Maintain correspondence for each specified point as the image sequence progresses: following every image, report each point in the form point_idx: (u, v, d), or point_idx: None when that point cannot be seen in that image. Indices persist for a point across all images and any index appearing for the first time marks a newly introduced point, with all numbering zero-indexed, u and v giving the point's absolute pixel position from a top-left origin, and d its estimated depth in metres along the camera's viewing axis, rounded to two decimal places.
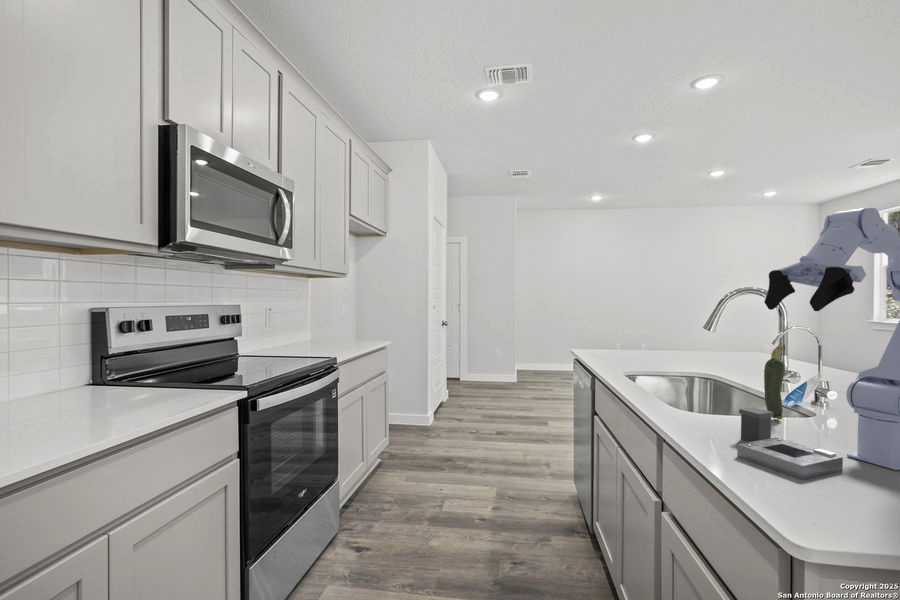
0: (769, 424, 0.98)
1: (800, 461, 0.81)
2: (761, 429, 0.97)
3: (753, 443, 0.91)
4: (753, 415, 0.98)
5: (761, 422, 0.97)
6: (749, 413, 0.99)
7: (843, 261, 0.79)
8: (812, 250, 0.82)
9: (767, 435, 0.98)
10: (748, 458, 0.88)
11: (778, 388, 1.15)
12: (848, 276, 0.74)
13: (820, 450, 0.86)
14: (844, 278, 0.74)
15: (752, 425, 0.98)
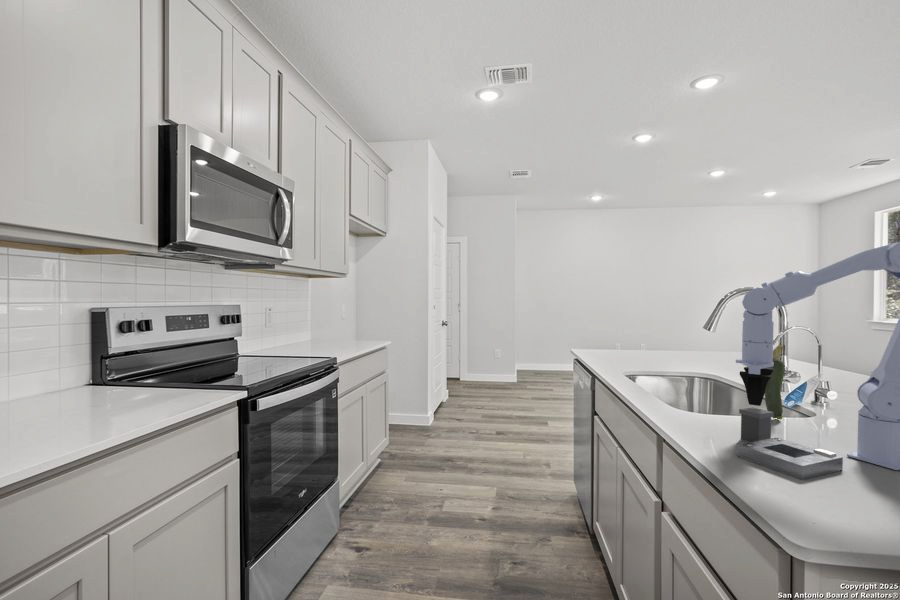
0: (769, 424, 0.98)
1: (800, 461, 0.81)
2: (761, 429, 0.97)
3: (753, 443, 0.91)
4: (753, 415, 0.98)
5: (761, 422, 0.97)
6: (749, 413, 0.99)
7: (758, 348, 0.97)
8: None
9: (767, 435, 0.98)
10: (748, 458, 0.88)
11: (778, 388, 1.15)
12: (751, 374, 0.95)
13: (820, 450, 0.86)
14: (750, 376, 0.95)
15: (752, 425, 0.98)
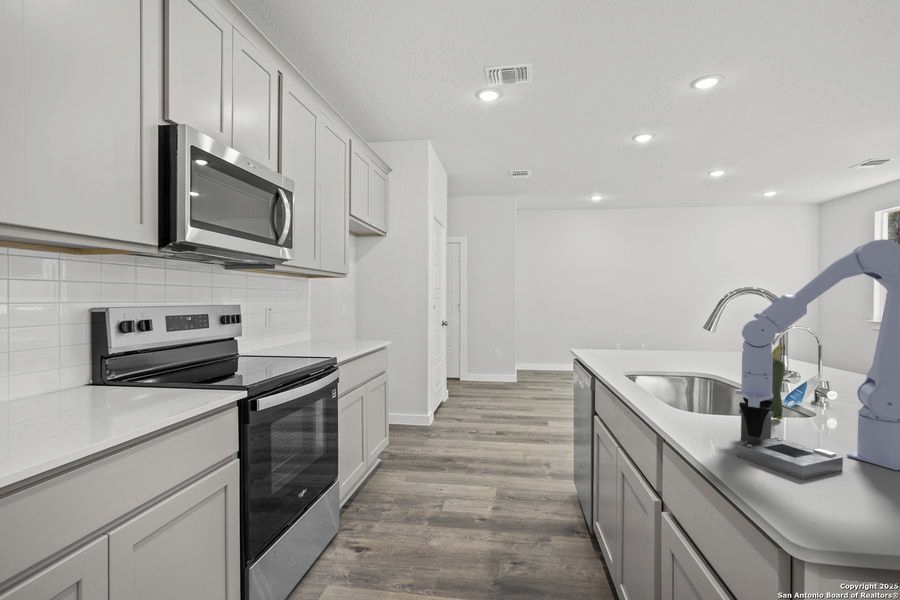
0: (769, 424, 0.98)
1: (800, 461, 0.81)
2: None
3: (753, 443, 0.91)
4: None
5: None
6: None
7: (758, 380, 0.97)
8: None
9: (767, 435, 0.98)
10: (748, 458, 0.88)
11: (778, 388, 1.15)
12: (750, 406, 0.95)
13: (820, 450, 0.86)
14: (750, 408, 0.96)
15: None
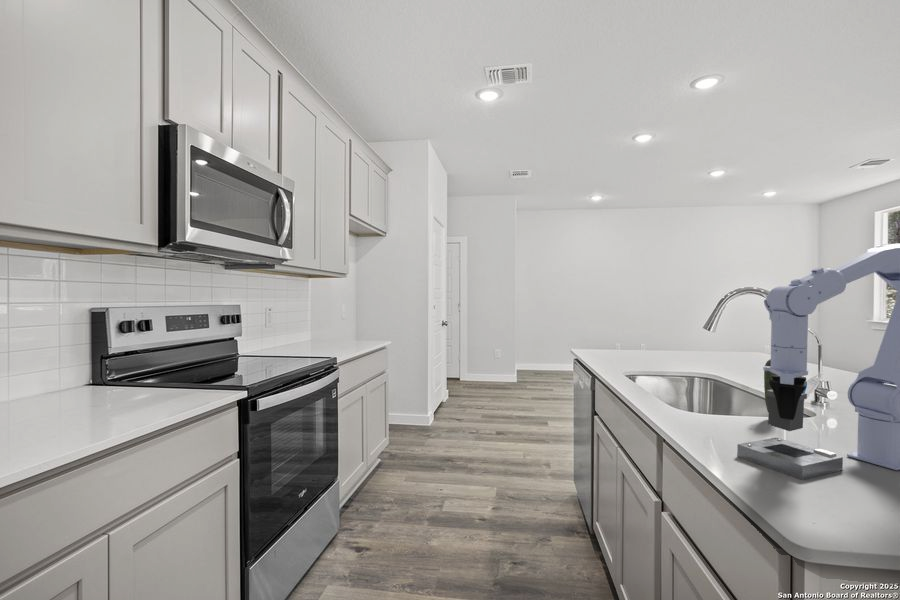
0: (802, 407, 0.86)
1: (800, 461, 0.81)
2: None
3: (753, 443, 0.91)
4: None
5: None
6: None
7: (790, 354, 0.85)
8: None
9: (799, 419, 0.86)
10: (748, 458, 0.88)
11: None
12: (782, 384, 0.83)
13: (820, 450, 0.86)
14: (782, 386, 0.83)
15: None
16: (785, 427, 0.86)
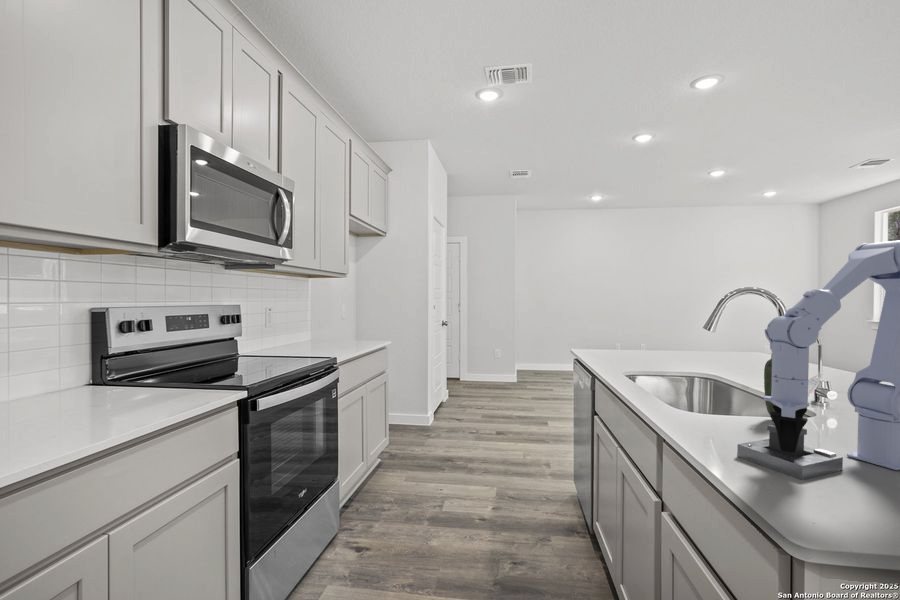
0: (802, 443, 0.86)
1: (800, 461, 0.81)
2: None
3: (753, 443, 0.91)
4: None
5: None
6: None
7: (791, 386, 0.84)
8: None
9: (800, 456, 0.86)
10: (748, 458, 0.88)
11: None
12: (783, 417, 0.82)
13: (820, 450, 0.86)
14: (783, 419, 0.83)
15: None
16: None
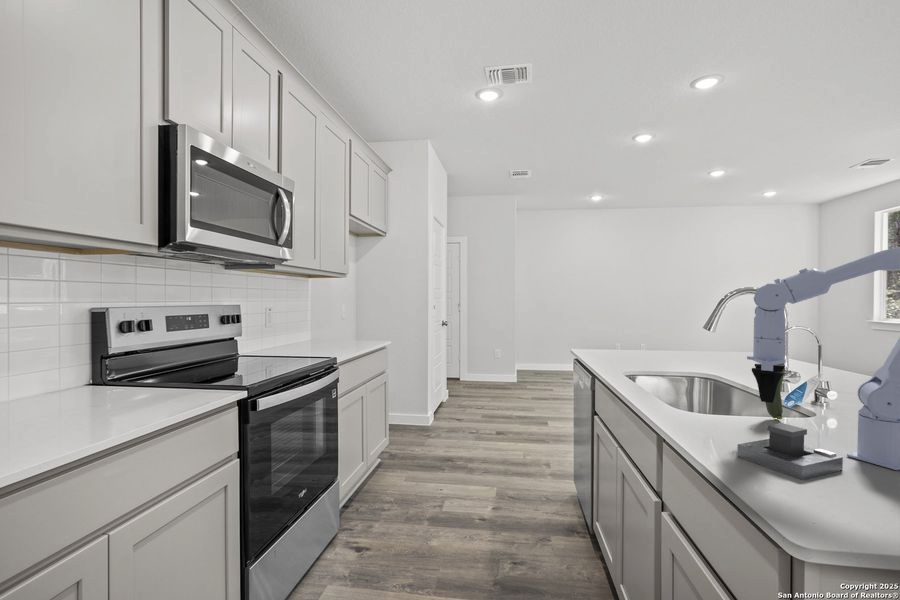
0: (802, 443, 0.86)
1: (800, 461, 0.81)
2: (794, 449, 0.85)
3: (753, 443, 0.91)
4: (784, 433, 0.85)
5: (794, 441, 0.85)
6: (779, 430, 0.86)
7: (770, 344, 0.96)
8: None
9: (800, 456, 0.86)
10: (748, 458, 0.88)
11: (778, 388, 1.15)
12: (763, 371, 0.94)
13: (820, 450, 0.86)
14: (763, 373, 0.94)
15: (782, 445, 0.86)
16: None
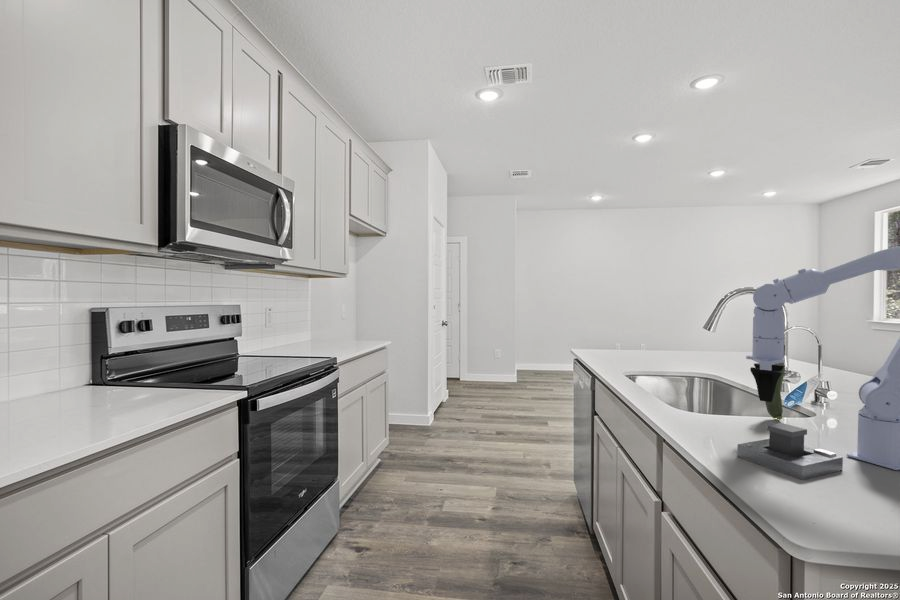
0: (802, 443, 0.86)
1: (800, 461, 0.81)
2: (794, 449, 0.85)
3: (753, 443, 0.91)
4: (784, 433, 0.85)
5: (794, 441, 0.85)
6: (779, 430, 0.86)
7: (769, 344, 0.97)
8: None
9: (800, 456, 0.86)
10: (748, 458, 0.88)
11: (778, 388, 1.15)
12: (762, 370, 0.95)
13: (820, 450, 0.86)
14: (761, 372, 0.95)
15: (782, 445, 0.86)
16: None
